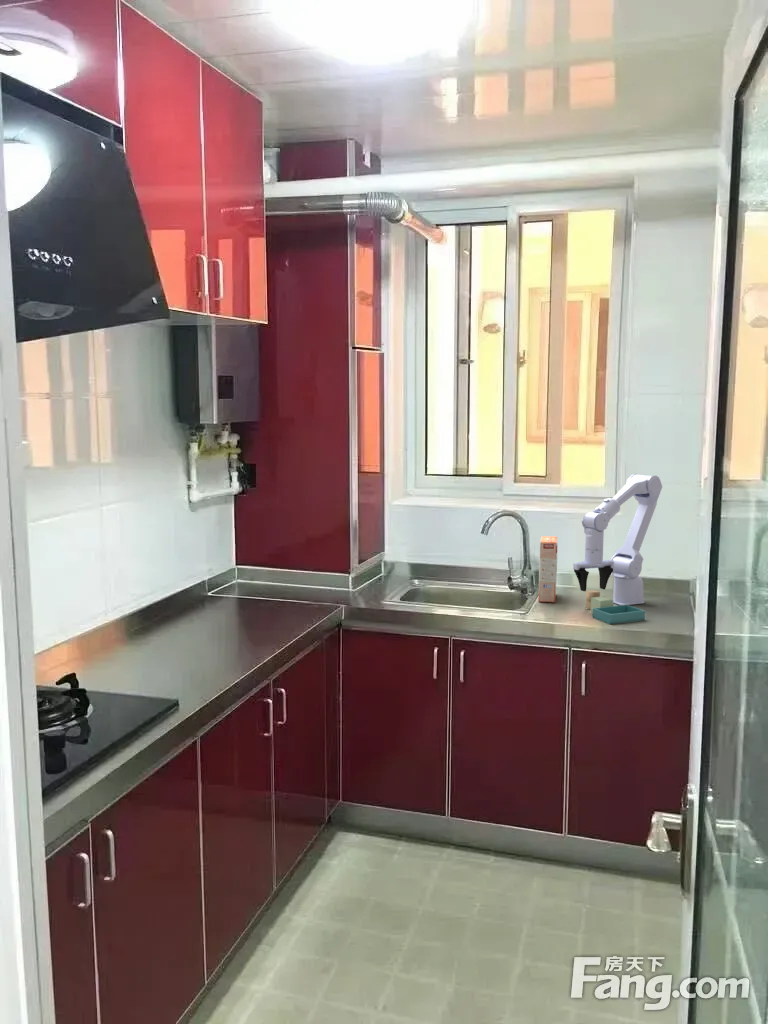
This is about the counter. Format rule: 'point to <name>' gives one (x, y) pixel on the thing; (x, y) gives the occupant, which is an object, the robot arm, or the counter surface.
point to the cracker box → (547, 569)
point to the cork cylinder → (589, 595)
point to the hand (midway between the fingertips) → (592, 589)
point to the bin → (618, 614)
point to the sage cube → (600, 602)
